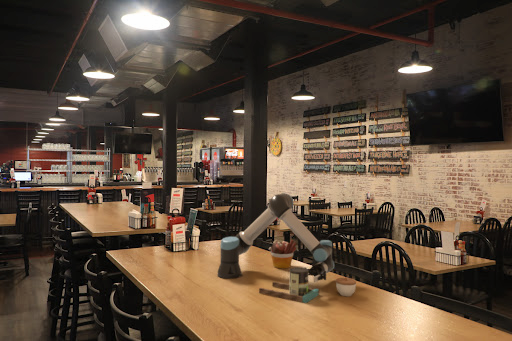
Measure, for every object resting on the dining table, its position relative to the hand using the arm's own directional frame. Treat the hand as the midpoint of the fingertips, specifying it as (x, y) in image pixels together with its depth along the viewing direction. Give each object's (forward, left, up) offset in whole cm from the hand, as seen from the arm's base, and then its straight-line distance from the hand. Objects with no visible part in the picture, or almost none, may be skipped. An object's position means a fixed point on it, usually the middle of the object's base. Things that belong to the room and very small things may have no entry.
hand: (302, 277), depth 214 cm
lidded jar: (+20, +13, -9) cm, 25 cm away
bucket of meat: (-37, +46, -9) cm, 60 cm away
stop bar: (+7, -4, -9) cm, 12 cm away
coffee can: (0, -4, -9) cm, 10 cm away
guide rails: (-6, -4, -9) cm, 12 cm away
